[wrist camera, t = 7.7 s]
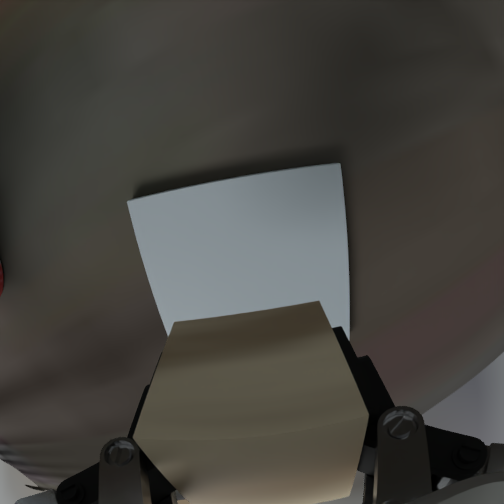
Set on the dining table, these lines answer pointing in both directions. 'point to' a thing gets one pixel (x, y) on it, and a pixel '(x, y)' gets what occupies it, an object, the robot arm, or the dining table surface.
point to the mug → (1, 279)
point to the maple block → (255, 409)
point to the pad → (247, 245)
